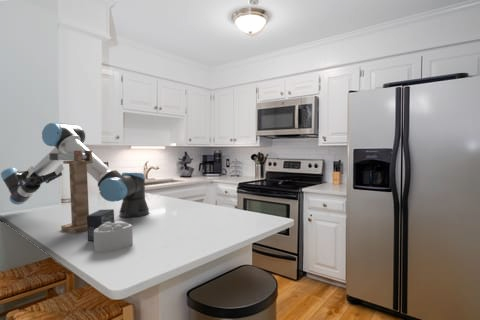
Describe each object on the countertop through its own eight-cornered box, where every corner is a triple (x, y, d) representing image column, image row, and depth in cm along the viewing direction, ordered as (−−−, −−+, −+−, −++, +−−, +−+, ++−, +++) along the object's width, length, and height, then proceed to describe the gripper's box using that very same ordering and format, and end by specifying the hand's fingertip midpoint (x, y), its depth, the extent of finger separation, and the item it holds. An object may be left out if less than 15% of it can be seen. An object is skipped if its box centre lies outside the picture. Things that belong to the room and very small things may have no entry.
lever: (49, 159, 133) (48, 153, 133) (56, 159, 136) (55, 153, 136) (81, 160, 122) (81, 153, 121) (88, 160, 124) (88, 153, 124)
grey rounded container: (136, 243, 107) (135, 221, 106) (103, 254, 96) (102, 230, 96) (120, 238, 113) (120, 217, 112) (88, 248, 102) (87, 225, 102)
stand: (60, 230, 125) (56, 150, 123) (84, 223, 135) (80, 150, 133) (77, 233, 120) (73, 150, 118) (100, 226, 129) (97, 150, 127)
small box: (100, 232, 121) (100, 209, 120) (115, 232, 120) (114, 209, 120) (86, 241, 110) (85, 215, 109) (102, 241, 110) (101, 215, 109)
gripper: (56, 189, 156) (75, 171, 147) (2, 197, 134) (20, 177, 125) (52, 178, 158) (70, 159, 149) (-2, 183, 136) (15, 162, 127)
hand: (47, 167), depth 137 cm, fingers open, 13 cm apart
